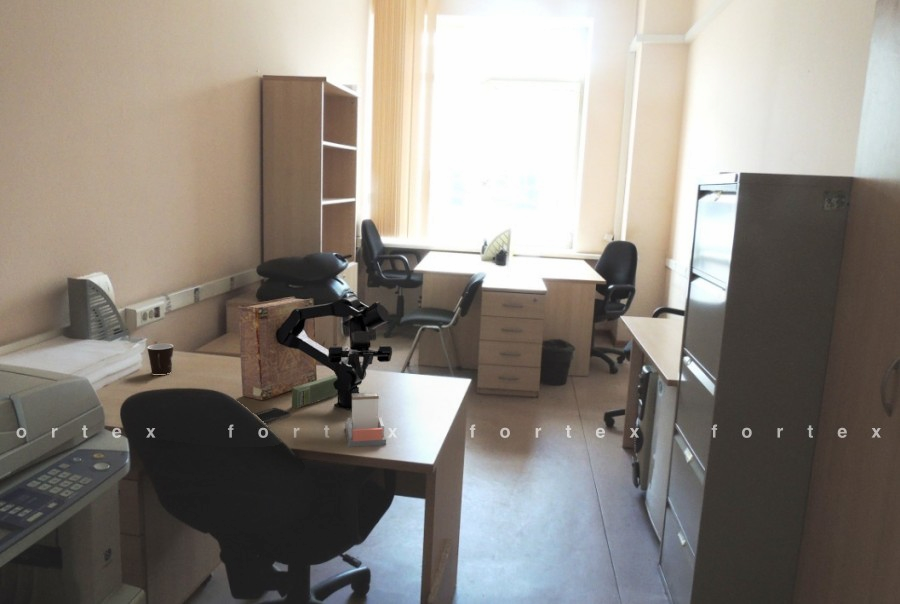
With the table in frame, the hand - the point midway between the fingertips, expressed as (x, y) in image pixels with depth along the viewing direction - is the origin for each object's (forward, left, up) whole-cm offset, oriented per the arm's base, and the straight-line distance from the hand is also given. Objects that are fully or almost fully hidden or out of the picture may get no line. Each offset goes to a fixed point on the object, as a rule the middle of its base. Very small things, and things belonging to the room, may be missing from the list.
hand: (362, 379), depth 187 cm
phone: (-25, -15, -14) cm, 32 cm away
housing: (+7, -7, -13) cm, 17 cm away
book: (-42, +8, -13) cm, 44 cm away
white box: (+7, -7, -11) cm, 15 cm away
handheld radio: (-24, +9, -14) cm, 29 cm away
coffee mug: (-89, -6, -13) cm, 90 cm away
